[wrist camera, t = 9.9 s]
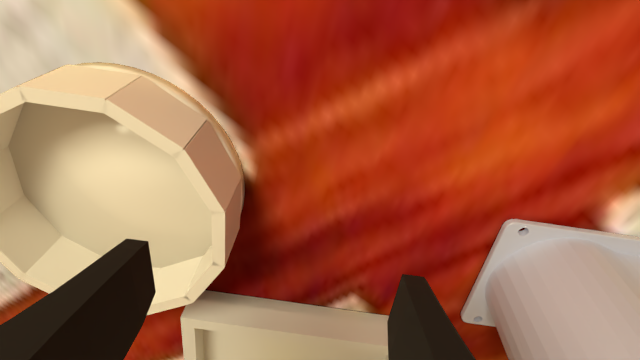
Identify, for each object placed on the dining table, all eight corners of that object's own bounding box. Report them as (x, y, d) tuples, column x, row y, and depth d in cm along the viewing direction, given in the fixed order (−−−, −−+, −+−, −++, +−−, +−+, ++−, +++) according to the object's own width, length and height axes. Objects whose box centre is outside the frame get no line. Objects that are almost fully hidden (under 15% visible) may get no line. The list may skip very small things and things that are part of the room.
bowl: (248, 83, 18) (225, 116, 15) (242, 274, 24) (224, 328, 21) (-18, 43, 18) (-105, 68, 14) (45, 246, 24) (-4, 296, 21)
